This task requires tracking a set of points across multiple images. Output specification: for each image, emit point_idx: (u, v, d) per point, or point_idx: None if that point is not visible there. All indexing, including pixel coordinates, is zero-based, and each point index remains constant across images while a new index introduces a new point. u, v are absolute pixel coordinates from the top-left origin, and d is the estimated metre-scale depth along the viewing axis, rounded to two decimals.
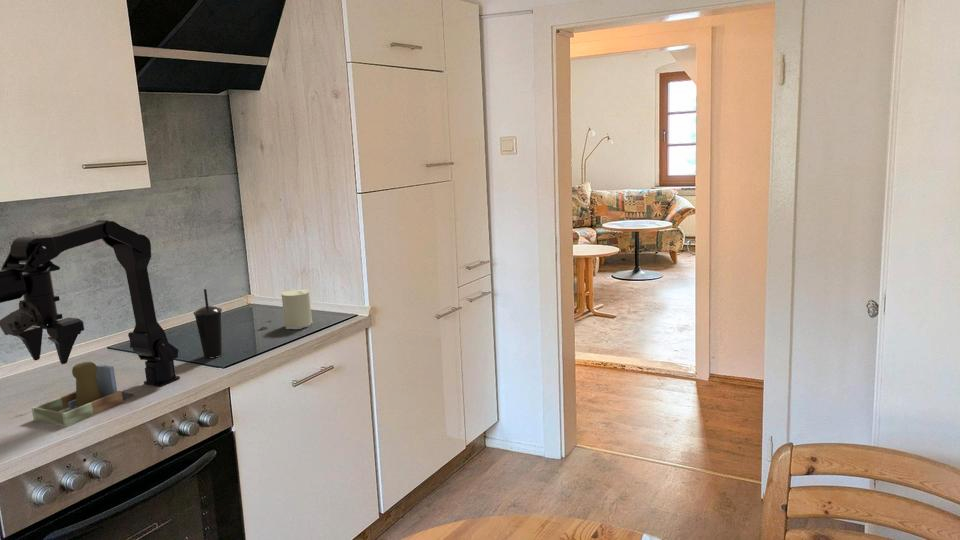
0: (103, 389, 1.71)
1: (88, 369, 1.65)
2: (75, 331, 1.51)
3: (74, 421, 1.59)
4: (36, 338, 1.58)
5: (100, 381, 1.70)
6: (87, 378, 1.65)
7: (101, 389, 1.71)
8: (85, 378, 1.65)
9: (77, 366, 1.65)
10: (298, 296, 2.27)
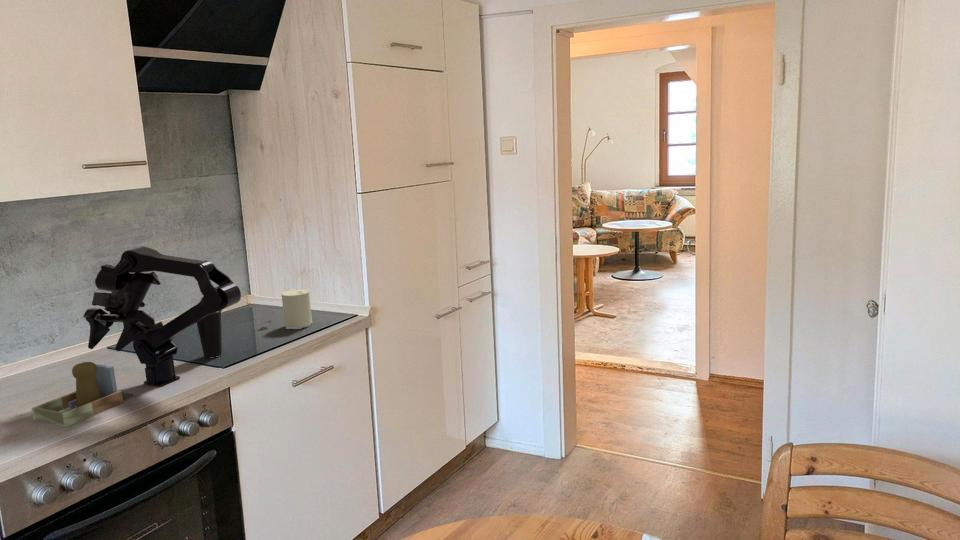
0: (103, 389, 1.71)
1: (88, 369, 1.65)
2: (147, 324, 1.71)
3: (74, 421, 1.59)
4: (101, 333, 1.76)
5: (100, 381, 1.70)
6: (87, 378, 1.65)
7: (101, 389, 1.71)
8: (85, 378, 1.65)
9: (77, 366, 1.65)
10: (298, 296, 2.27)
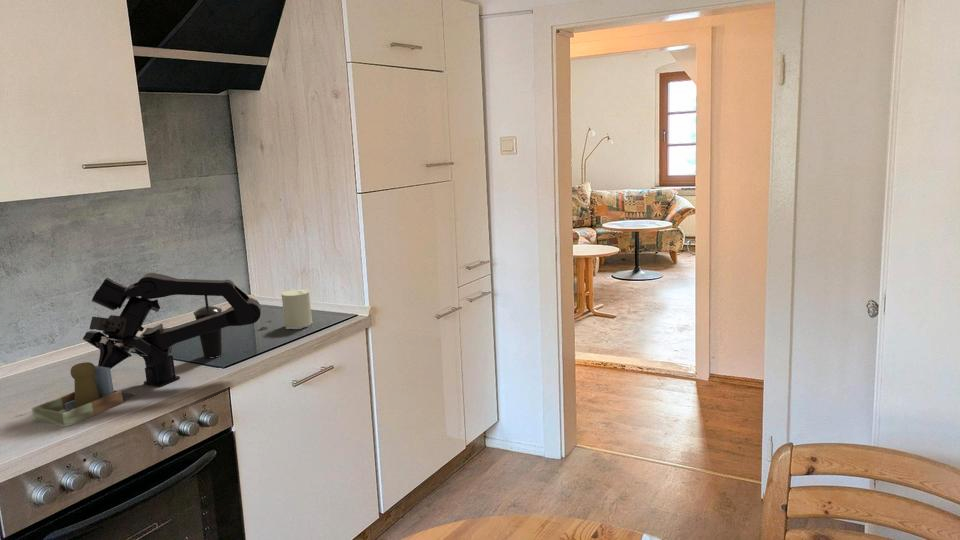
0: (100, 390, 1.70)
1: (87, 369, 1.65)
2: (142, 350, 1.70)
3: (74, 421, 1.59)
4: None
5: (97, 382, 1.70)
6: (85, 378, 1.65)
7: None
8: (84, 379, 1.65)
9: (76, 367, 1.64)
10: (298, 296, 2.27)
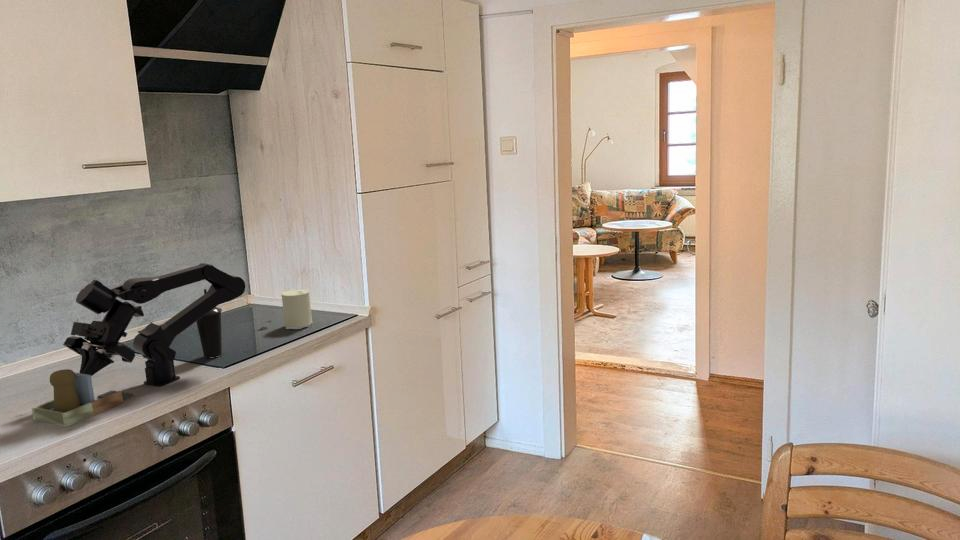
0: (80, 398, 1.65)
1: (67, 376, 1.60)
2: (126, 357, 1.66)
3: (74, 421, 1.59)
4: None
5: (77, 389, 1.65)
6: (65, 386, 1.60)
7: None
8: (64, 386, 1.60)
9: (55, 374, 1.60)
10: (298, 296, 2.27)
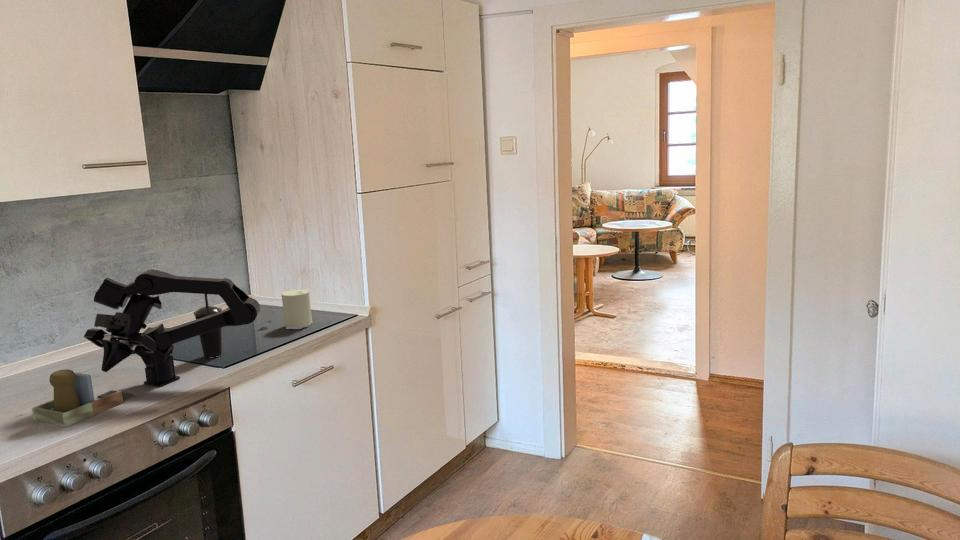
0: (80, 398, 1.65)
1: (66, 377, 1.60)
2: (149, 347, 1.71)
3: (74, 421, 1.59)
4: None
5: (77, 389, 1.65)
6: (64, 386, 1.60)
7: None
8: (63, 386, 1.60)
9: (55, 374, 1.60)
10: (298, 296, 2.27)
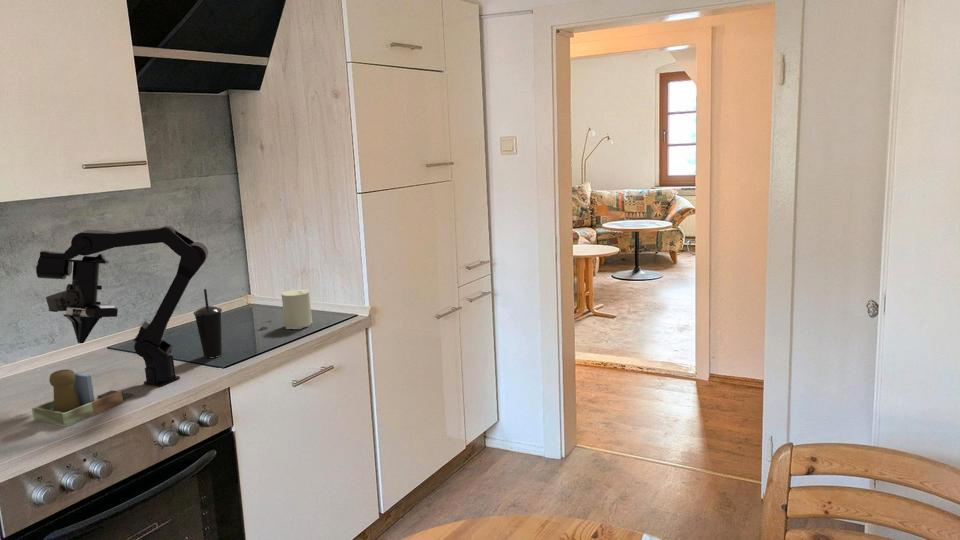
0: (80, 398, 1.65)
1: (66, 377, 1.60)
2: (109, 315, 1.71)
3: (74, 421, 1.59)
4: None
5: (77, 389, 1.65)
6: (64, 386, 1.60)
7: None
8: (63, 386, 1.60)
9: (55, 374, 1.60)
10: (298, 296, 2.27)
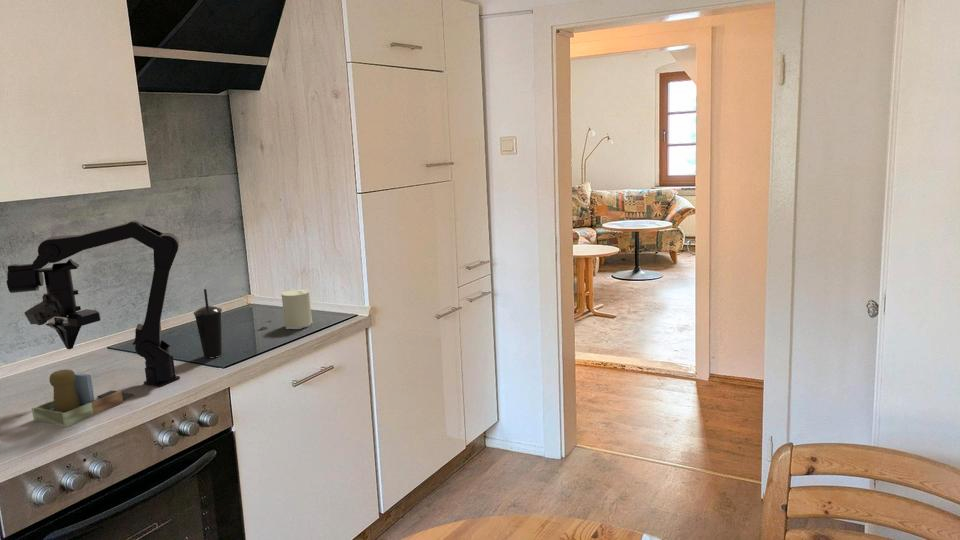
0: (80, 398, 1.65)
1: (66, 377, 1.60)
2: (92, 321, 1.70)
3: (74, 421, 1.59)
4: None
5: (77, 389, 1.65)
6: (65, 386, 1.60)
7: None
8: (63, 386, 1.60)
9: (55, 374, 1.60)
10: (298, 296, 2.27)
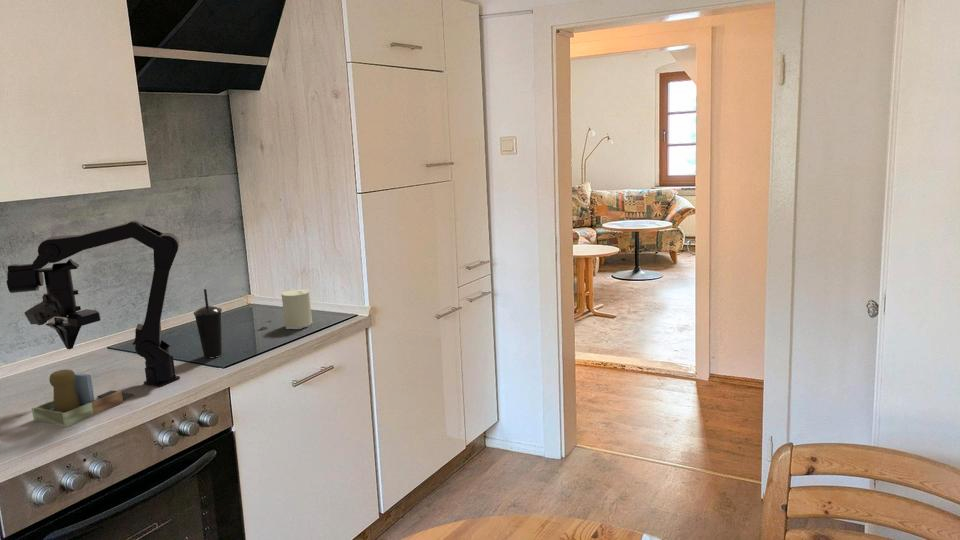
0: (80, 398, 1.65)
1: (66, 377, 1.60)
2: (92, 321, 1.70)
3: (74, 421, 1.59)
4: None
5: (77, 389, 1.65)
6: (64, 386, 1.60)
7: None
8: (63, 386, 1.60)
9: (55, 374, 1.60)
10: (298, 296, 2.27)
